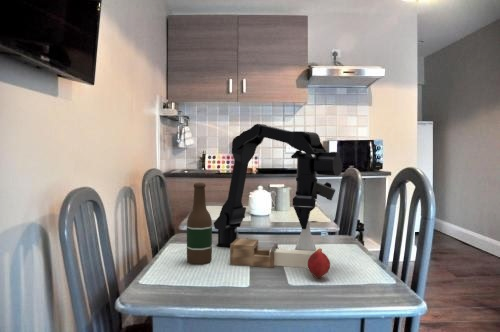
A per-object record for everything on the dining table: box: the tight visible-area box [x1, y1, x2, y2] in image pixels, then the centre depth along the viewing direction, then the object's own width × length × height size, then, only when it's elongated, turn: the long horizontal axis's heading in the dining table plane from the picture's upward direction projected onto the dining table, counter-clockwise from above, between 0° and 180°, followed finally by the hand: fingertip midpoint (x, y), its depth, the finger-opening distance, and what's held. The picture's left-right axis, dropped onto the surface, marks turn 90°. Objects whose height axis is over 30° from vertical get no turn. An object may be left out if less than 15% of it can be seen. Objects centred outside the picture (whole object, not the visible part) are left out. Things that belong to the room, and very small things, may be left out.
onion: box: [307, 247, 331, 279], centre depth 95 cm, size 6×6×8 cm
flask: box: [294, 220, 317, 251], centre depth 124 cm, size 7×7×10 cm
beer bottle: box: [186, 182, 213, 266], centre depth 109 cm, size 8×8×24 cm
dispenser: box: [229, 237, 278, 269], centre depth 109 cm, size 13×8×6 cm, turn 78°
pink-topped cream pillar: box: [269, 247, 317, 269], centre depth 107 cm, size 14×4×4 cm, turn 78°
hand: (305, 225), depth 108 cm, fingers open, 9 cm apart
